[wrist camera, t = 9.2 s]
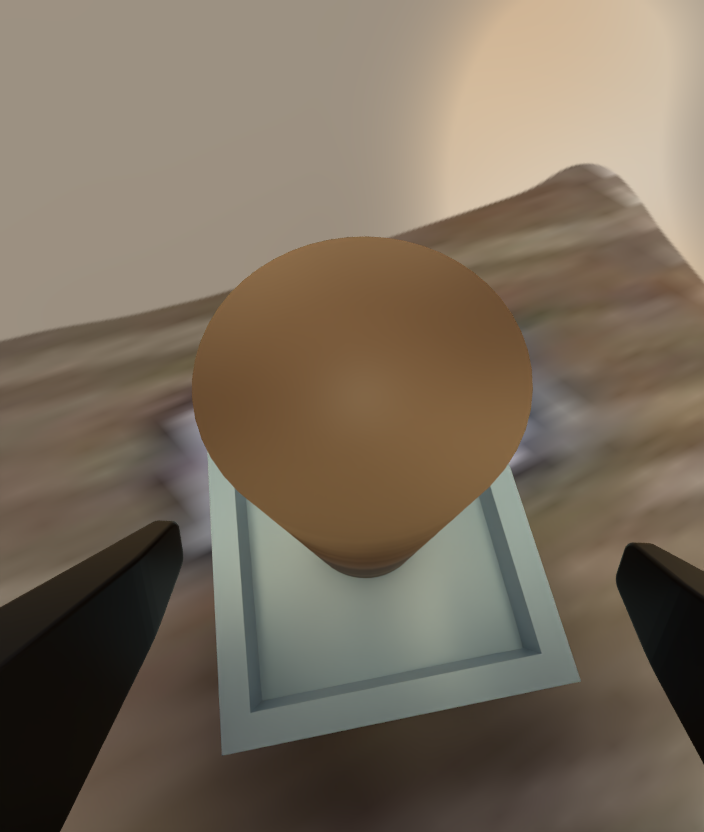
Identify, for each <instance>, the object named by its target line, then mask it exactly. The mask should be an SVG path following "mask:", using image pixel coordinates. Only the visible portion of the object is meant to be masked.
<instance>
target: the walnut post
mask: <svg viewBox="0 0 704 832" xmlns="http://www.w3.org/2000/svg"><path fill="white" fill-rule="evenodd" d="M532 391H533V386H532V369H531V364H530V359H529V354H528V349H527V347H526V344H525V341H524V338H523V335H522V333H521V330H520V328H519V327H518V325H517V323H516V321H515V319H514V317H513V315H512V314H511V312H510V311H509V309H508V308H507V306H506V305H505V304H504V302H503V301H502V299H501V298H500V297H499V296H498V295H497V294H496V293H495V292H494V291H493V289H492V288H491V287H490V286H489V285H488V284H487V283H486V282H484V281H483V280H482V279H481V278H480V277H478V276H477V275H476V274H475V273H474V272H472V271H471V270H469V269H468V268H466V267H465V266H463V265H462V264H460V263H459V262H457V261H455V260H453V259H452V258H450V257H448V256H446V255H444V254H442V253H440V252H437V251H435V250H432V249H429V248H427V247H424V246H421V245H418V244H414V243H410V242H406V241H402V240H396V239H390V238H381V237H346V238H338V239H331V240H326V241H322V242H317V243H313V244H309V245H307V246H304V247H301V248H298V249H295V250H292V251H290V252H288V253H286V254H284V255H282V256H279V257H277V258H275V259H273V260H272V261H270V262H269V263H267V264H265V265H264V266H262V267H261V268H259V269H258V270H256V271H255V272H253V273H252V274H251V275H250V276H248V277H247V278H246V279H244V280H243V281H242V282H241V283H240V284H239V285H238V286H237V287H236V288H235V289H234V290H233V291H232V292H231V293H230V294H229V295H228V297H227V298H226V299H225V300H224V302H223V303H222V304H221V305H220V307H219V308H218V309H217V311H216V312H215V314H214V316H213V317H212V319H211V321H210V322H209V324H208V326H207V328H206V330H205V333H204V335H203V337H202V339H201V342H200V345H199V348H198V352H197V355H196V359H195V364H194V371H193V378H192V400H193V407H194V413H195V419H196V423H197V426H198V429H199V432H200V435H201V439H202V441H203V443H204V445H205V447H206V449H207V451H208V453H209V455H210V457H211V459H212V460H213V462H214V463H215V464H216V466H217V467H218V469H219V470H220V472H221V473H222V475H223V476H224V477H225V478H226V479H227V480H228V481H229V482H230V484H231V485H232V486H233V487H234V488H235V489H236V490H237V491H238V492H239V493H240V494H241V495H243V496H244V497H245V498H246V499H248V500H249V501H250V502H251V503H252V504H254V505H255V506H256V507H257V508H259V509H260V510H261V511H262V512H264V513H265V514H266V515H267V516H268V517H270V518H271V519H272V520H273V521H275V522H276V523H277V524H278V525H280V526H281V527H282V528H283V529H285V530H286V531H287V532H288V533H289V534H291V535H292V536H293V537H294V538H296V539H297V540H298V541H299V542H301V543H302V544H303V545H304V546H305V547H307V548H308V549H309V550H310V551H312V552H313V553H314V554H315V555H317V556H318V557H319V558H320V559H322V560H323V561H324V562H325V563H326V564H328V565H329V566H330V567H331V568H333V569H335V570H336V571H338V572H340V573H342V574H345V575H348V576H351V577H356V578H374V577H379V576H382V575H386V574H388V573H390V572H392V571H394V570H395V569H397V568H399V567H400V566H401V565H402V564H404V563H405V562H406V561H407V560H408V559H409V558H410V557H411V556H413V555H414V554H415V553H416V552H417V551H418V550H419V549H420V548H422V547H423V546H424V545H425V544H426V543H427V542H428V541H429V540H430V539H432V538H433V537H434V536H435V535H436V534H437V533H438V532H439V531H441V530H442V529H443V528H444V527H445V526H446V525H447V524H448V523H450V522H451V521H452V520H453V519H454V518H455V517H456V516H457V515H459V514H460V513H461V512H462V511H463V510H464V509H465V508H466V507H468V506H469V505H470V504H471V503H472V502H473V501H474V500H475V499H477V498H478V497H479V496H480V495H481V494H482V493H483V492H484V491H485V490H487V489H488V488H489V487H490V486H491V485H492V483H493V482H494V481H495V480H496V479H497V478H498V477H499V475H500V474H501V473H502V472H503V471H504V470H505V468H506V466H507V465H508V463H509V462H510V460H511V458H512V457H513V455H514V454H515V452H516V450H517V448H518V446H519V444H520V441H521V439H522V437H523V434H524V432H525V430H526V426H527V422H528V418H529V414H530V410H531V401H532Z"/></svg>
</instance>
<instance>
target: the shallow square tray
mask: <svg viewBox="0 0 704 832" xmlns="http://www.w3.org/2000/svg"><path fill="white" fill-rule="evenodd" d="M207 453H208V451H207ZM208 474H209V495H210V516H211V537H212V558H213V579H214V599H215V620H216V641H217V662H218V683H219V704H220V725H221V746H222V756H223V755H228V754H233V753H238V752H243V751H247V750H252V749H257V748H262V747H267V746H272V745H276V744H281V743H286V742H291V741H296V740H301V739H305V738H310V737H315V736H320V735H325V734H330V733H334V732H339V731H344V730H349V729H354V728H358V727H363V726H368V725H373V724H378V723H383V722H387V721H392V720H397V719H402V718H407V717H412V716H416V715H421V714H426V713H431V712H436V711H441V710H445V709H450V708H455V707H460V706H465V705H470V704H474V703H479V702H484V701H489V700H494V699H499V698H503V697H508V696H513V695H518V694H523V693H527V692H532V691H537V690H542V689H547V688H552V687H556V686H561V685H566V684H571V683H576V682H581V680H580V677H579V674H578V671H577V668H576V665H575V662H574V659H573V656H572V653H571V650H570V647H569V644H568V641H567V638H566V635H565V632H564V629H563V626H562V623H561V620H560V617H559V614H558V611H557V608H556V605H555V602H554V599H553V595H552V592H551V589H550V586H549V583H548V580H547V577H546V574H545V571H544V568H543V565H542V562H541V559H540V556H539V553H538V550H537V547H536V544H535V541H534V538H533V535H532V532H531V529H530V526H529V523H528V520H527V517H526V514H525V511H524V508H523V505H522V502H521V499H520V496H519V493H518V490H517V487H516V484H515V481H514V478H513V475H512V472H511V469H510V466H509V463H508V465H507V466H506V468H505V470H504V471H503V472H502V473H501V474H500V475H499V477H498V478H497V479H496V480H495V481H494V482H493V483H492V485H491V486H490V487H489V488H488V489H487V490H485V491H484V492H483V493H482V494H481V495H480V496H479V497H478V498H477V499H475V500H474V501H473V502H472V503H471V504H470V505H469V506H468V507H466V508H465V509H464V510H463V511H462V512H461V513H460V514H459V515H457V516H456V517H455V518H454V519H453V520H452V521H451V522H450V523H448V524H447V525H446V526H445V527H444V528H443V529H442V530H441V531H439V532H438V533H437V534H436V535H435V536H434V537H433V538H432V539H430V540H429V541H428V542H427V543H426V544H425V545H424V546H423V547H422V548H420V549H419V550H418V551H417V552H416V553H415V554H414V555H413V556H411V557H410V558H409V559H408V560H407V561H406V562H405V563H404V564H402V565H401V566H400V567H399V568H397V569H395V570H394V571H392V572H390V573H388V574H386V575H382V576H379V577H374V578H356V577H351V576H348V575H345V574H342V573H340V572H338V571H336V570H335V569H333V568H331V567H330V566H329V565H328V564H326V563H325V562H324V561H323V560H322V559H320V558H319V557H318V556H317V555H315V554H314V553H313V552H312V551H310V550H309V549H308V548H307V547H305V546H304V545H303V544H302V543H301V542H299V541H298V540H297V539H296V538H294V537H293V536H292V535H291V534H289V533H288V532H287V531H286V530H285V529H283V528H282V527H281V526H280V525H278V524H277V523H276V522H275V521H273V520H272V519H271V518H270V517H268V516H267V515H266V514H265V513H264V512H262V511H261V510H260V509H259V508H257V507H256V506H255V505H254V504H252V503H251V502H250V501H249V500H248V499H246V498H245V497H244V496H243V495H241V494H240V493H239V492H238V491H237V490H236V489H235V488H234V487H233V486H232V485H231V484H230V482H229V481H228V480H227V479H226V478H225V477H224V476H223V475H222V473H221V472H220V470H219V469H218V467H217V466H216V464H215V463H214V462H213V460H212V459H211V457H210V455H209V453H208Z"/></svg>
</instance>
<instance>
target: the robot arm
mask: <svg viewBox="0 0 704 832" xmlns="http://www.w3.org/2000/svg"><path fill="white" fill-rule="evenodd" d="M182 562H183V549H182V543H181V536H180V530H179V526H178V524H177V523H176V522H175V521H154V522H152V523H151V524H149V525H147V526H145V527H143V528H142V529H140V530H138V531H136V532H135V533H133V534H131V535H129V536H127V537H126V538H124V539H122V540H120V541H118V542H117V543H115V544H113V545H111V546H109V547H108V548H106V549H104V550H102V551H100V552H99V553H97V554H95V555H93V556H91V557H90V558H88V559H86V560H84V561H83V562H81V563H79V564H77V565H75V566H74V567H72V568H70V569H68V570H66V571H65V572H63V573H61V574H59V575H57V576H56V577H54V578H52V579H50V580H48V581H47V582H45V583H43V584H41V585H39V586H38V587H36V588H34V589H32V590H30V591H29V592H27V593H25V594H23V595H21V596H20V597H18V598H16V599H14V600H13V601H11V602H9V603H7V604H5V605H4V606H2V607H0V832H60V831H61V829H62V827H63V825H64V823H65V821H66V819H67V817H68V815H69V813H70V811H71V808H72V806H73V804H74V802H75V800H76V798H77V796H78V794H79V792H80V790H81V788H82V786H83V784H84V782H85V780H86V778H87V776H88V774H89V772H90V770H91V768H92V766H93V764H94V762H95V760H96V757H97V755H98V753H99V751H100V749H101V747H102V745H103V743H104V741H105V739H106V737H107V735H108V733H109V731H110V729H111V727H112V725H113V723H114V721H115V719H116V717H117V715H118V713H119V711H120V709H121V706H122V704H123V702H124V700H125V698H126V696H127V694H128V692H129V690H130V688H131V686H132V684H133V682H134V680H135V678H136V676H137V674H138V672H139V670H140V668H141V666H142V664H143V662H144V660H145V658H146V655H147V653H148V651H149V649H150V647H151V645H152V643H153V641H154V639H155V636H156V634H157V631H158V629H159V626H160V624H161V621H162V618H163V615H164V613H165V610H166V607H167V605H168V602H169V599H170V596H171V594H172V591H173V588H174V585H175V583H176V580H177V577H178V575H179V572H180V569H181V566H182ZM616 584H617V588H618V590H619V593H620V595H621V597H622V600H623V602H624V605H625V607H626V609H627V612H628V614H629V616H630V619H631V621H632V623H633V626H634V628H635V631H636V633H637V635H638V638H639V640H640V642H641V645H642V647H643V649H644V652H645V654H646V656H647V658H648V660H649V663H650V665H651V667H652V669H653V671H654V673H655V674H656V676H657V678H658V680H659V682H660V684H661V686H662V688H663V690H664V691H665V693H666V695H667V697H668V699H669V701H670V703H671V704H672V706H673V708H674V710H675V712H676V714H677V715H678V717H679V719H680V721H681V723H682V725H683V727H684V728H685V730H686V732H687V734H688V736H689V738H690V740H691V741H692V743H693V745H694V747H695V749H696V751H697V753H698V754H699V756H700V758H701V760H702V762H703V764H704V571H702V570H700V569H698V568H696V567H695V566H693V565H691V564H689V563H687V562H685V561H683V560H682V559H680V558H678V557H676V556H674V555H672V554H670V553H669V552H667V551H665V550H663V549H661V548H659V547H658V546H656V545H654V544H650V543H629V544H628V545H627V546H626V547H625V549H624V552H623V555H622V558H621V562H620V565H619V568H618V571H617V574H616Z"/></svg>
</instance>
